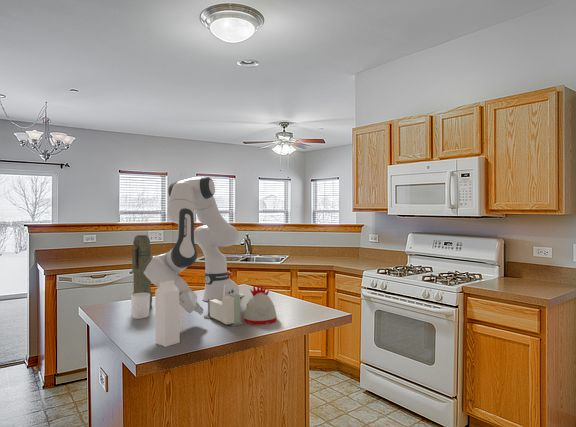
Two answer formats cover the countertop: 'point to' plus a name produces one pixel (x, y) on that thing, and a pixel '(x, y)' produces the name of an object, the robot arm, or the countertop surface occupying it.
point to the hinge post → (208, 310)
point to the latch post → (236, 310)
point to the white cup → (140, 305)
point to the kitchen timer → (260, 308)
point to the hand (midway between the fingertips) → (202, 312)
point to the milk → (167, 314)
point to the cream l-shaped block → (223, 309)
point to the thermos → (141, 265)
